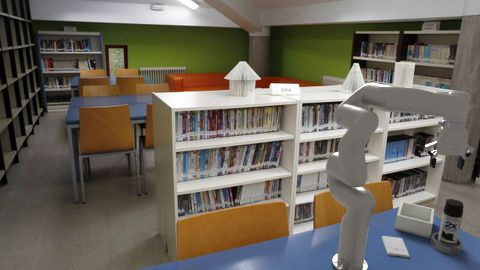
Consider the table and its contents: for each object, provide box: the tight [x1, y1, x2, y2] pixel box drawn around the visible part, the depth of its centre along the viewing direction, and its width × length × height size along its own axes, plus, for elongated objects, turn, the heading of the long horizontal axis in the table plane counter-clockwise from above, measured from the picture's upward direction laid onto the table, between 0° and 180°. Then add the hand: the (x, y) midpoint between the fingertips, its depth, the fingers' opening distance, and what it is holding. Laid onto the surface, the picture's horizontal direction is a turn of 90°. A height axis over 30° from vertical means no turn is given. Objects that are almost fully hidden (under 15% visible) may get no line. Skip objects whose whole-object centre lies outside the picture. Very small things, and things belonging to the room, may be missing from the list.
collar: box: [430, 232, 464, 256], centre depth 145 cm, size 11×11×3 cm
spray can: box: [437, 198, 464, 247], centre depth 143 cm, size 7×7×20 cm
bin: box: [394, 200, 435, 240], centre depth 160 cm, size 16×14×7 cm
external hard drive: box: [381, 235, 411, 259], centre depth 144 cm, size 2×8×12 cm
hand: (445, 167), depth 136 cm, fingers open, 9 cm apart
